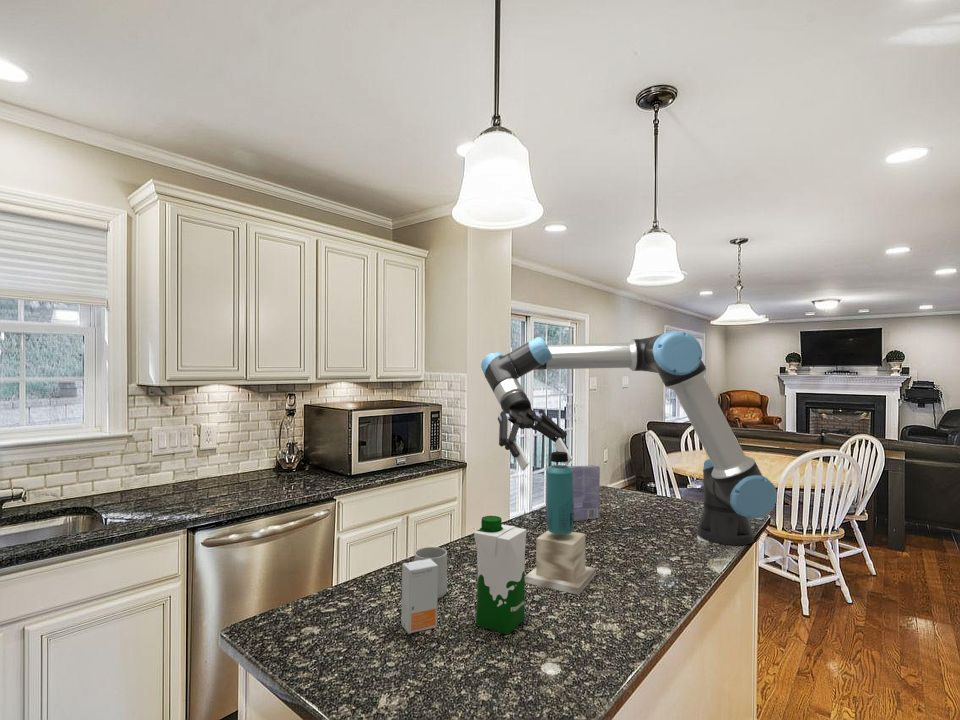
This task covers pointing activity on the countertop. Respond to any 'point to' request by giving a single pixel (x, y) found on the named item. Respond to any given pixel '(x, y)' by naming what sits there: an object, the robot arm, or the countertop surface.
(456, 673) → the countertop surface
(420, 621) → the skincare box
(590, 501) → the cake pan box
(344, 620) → the countertop surface
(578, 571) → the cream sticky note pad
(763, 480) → the robot arm
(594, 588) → the countertop surface
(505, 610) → the milk carton
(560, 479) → the beverage bottle
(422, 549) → the cup
